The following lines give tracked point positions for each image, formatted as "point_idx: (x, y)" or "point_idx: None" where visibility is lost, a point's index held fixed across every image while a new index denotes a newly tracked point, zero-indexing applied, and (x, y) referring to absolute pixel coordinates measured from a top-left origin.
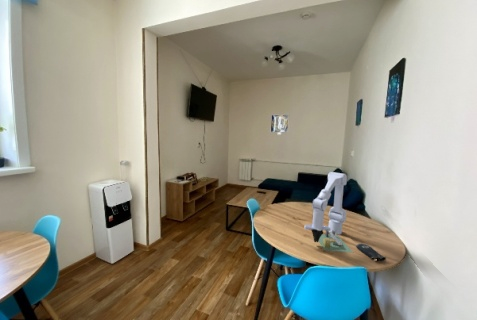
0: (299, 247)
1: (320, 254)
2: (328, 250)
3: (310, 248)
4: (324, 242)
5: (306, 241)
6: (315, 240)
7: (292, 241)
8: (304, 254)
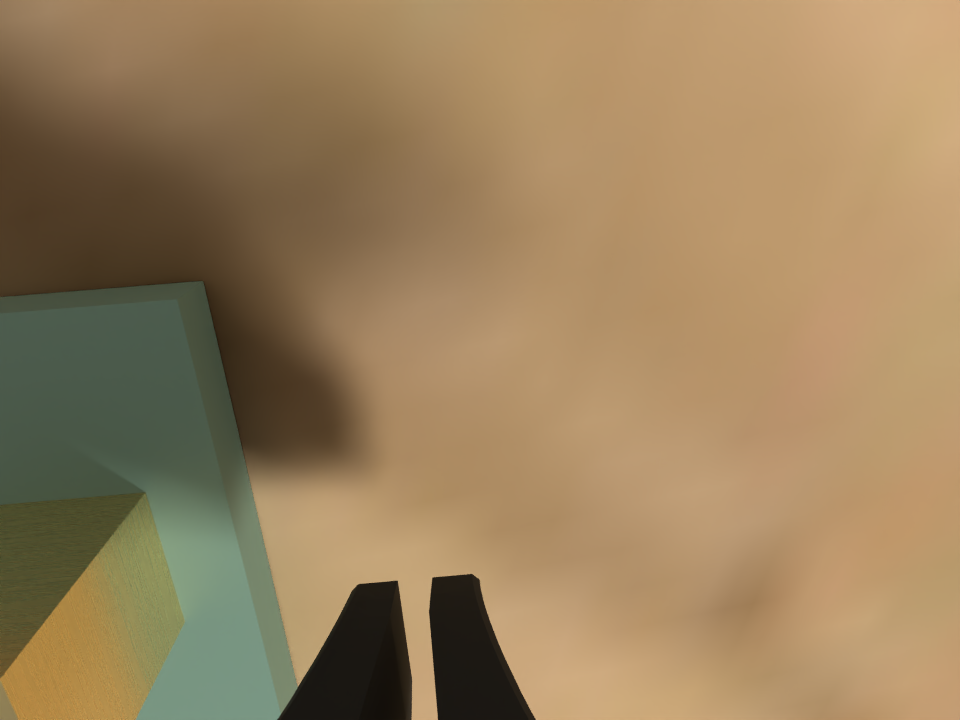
0: (894, 393)
1: (362, 126)
2: (46, 320)
3: (587, 408)
4: (102, 639)
5: (587, 702)
6: (467, 617)
7: (955, 629)
8: (911, 8)
